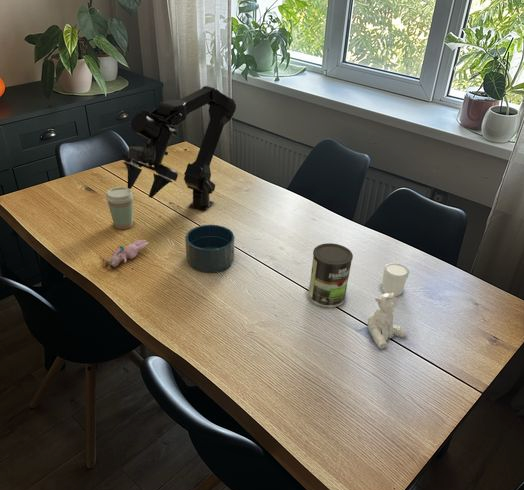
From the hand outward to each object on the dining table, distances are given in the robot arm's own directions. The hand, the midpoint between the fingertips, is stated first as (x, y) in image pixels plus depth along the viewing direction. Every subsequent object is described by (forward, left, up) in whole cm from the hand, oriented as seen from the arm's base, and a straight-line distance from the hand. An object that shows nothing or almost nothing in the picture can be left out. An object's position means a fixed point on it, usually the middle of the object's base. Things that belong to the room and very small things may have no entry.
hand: (139, 192), depth 150 cm
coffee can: (+4, +62, -15) cm, 64 cm away
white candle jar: (-7, +78, -15) cm, 80 cm away
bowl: (+3, +25, -15) cm, 29 cm away
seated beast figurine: (+13, +79, -15) cm, 82 cm away
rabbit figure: (+13, +3, -15) cm, 21 cm away
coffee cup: (-3, -10, -15) cm, 18 cm away
